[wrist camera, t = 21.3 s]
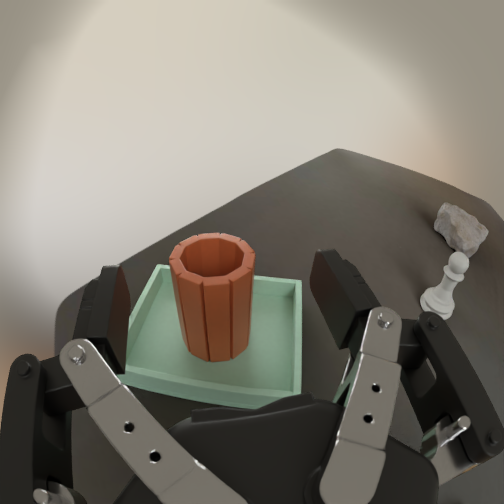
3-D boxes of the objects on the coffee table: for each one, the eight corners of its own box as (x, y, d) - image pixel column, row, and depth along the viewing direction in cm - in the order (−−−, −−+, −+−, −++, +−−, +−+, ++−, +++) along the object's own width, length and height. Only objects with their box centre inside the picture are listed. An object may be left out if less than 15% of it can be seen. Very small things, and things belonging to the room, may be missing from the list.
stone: (422, 234, 45) (433, 203, 41) (440, 224, 48) (450, 196, 45) (467, 265, 38) (481, 234, 35) (481, 251, 42) (493, 223, 38)
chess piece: (442, 327, 29) (474, 273, 24) (413, 305, 32) (439, 249, 27) (455, 308, 31) (484, 258, 26) (428, 288, 34) (452, 237, 29)
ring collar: (175, 356, 24) (157, 278, 19) (193, 306, 29) (184, 228, 24) (244, 367, 24) (248, 290, 19) (253, 314, 29) (258, 236, 24)
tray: (116, 382, 22) (106, 365, 21) (161, 283, 33) (157, 263, 31) (294, 413, 21) (300, 398, 20) (297, 299, 32) (301, 280, 30)
